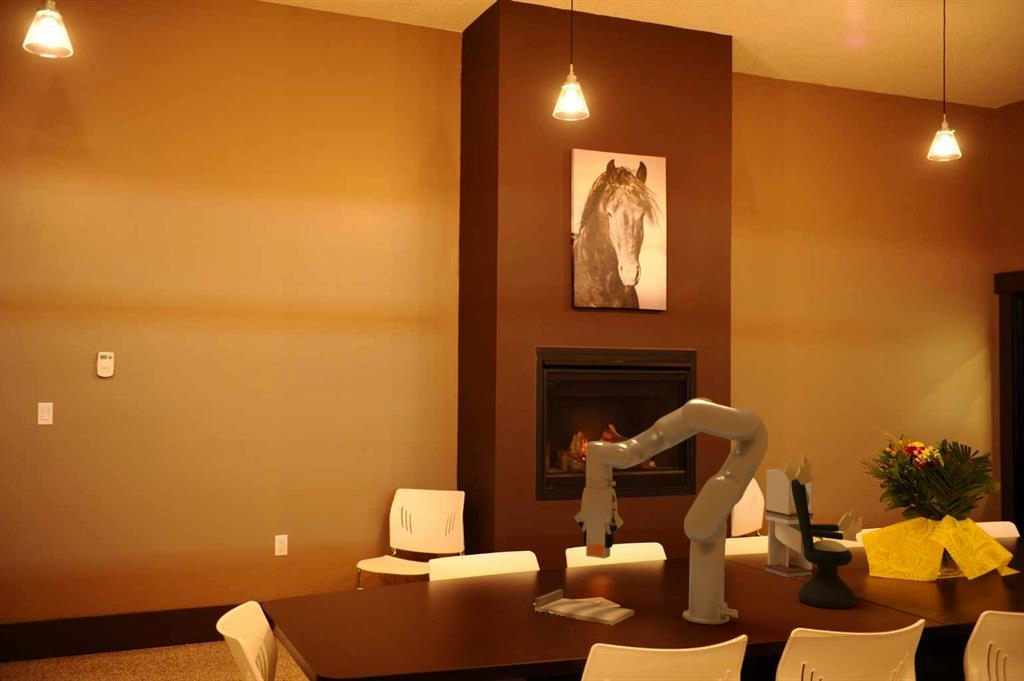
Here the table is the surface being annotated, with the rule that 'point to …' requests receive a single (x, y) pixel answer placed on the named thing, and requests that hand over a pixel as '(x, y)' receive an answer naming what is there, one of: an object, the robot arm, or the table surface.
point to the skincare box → (596, 539)
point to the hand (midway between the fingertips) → (598, 545)
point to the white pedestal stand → (785, 527)
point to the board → (580, 609)
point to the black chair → (822, 544)
